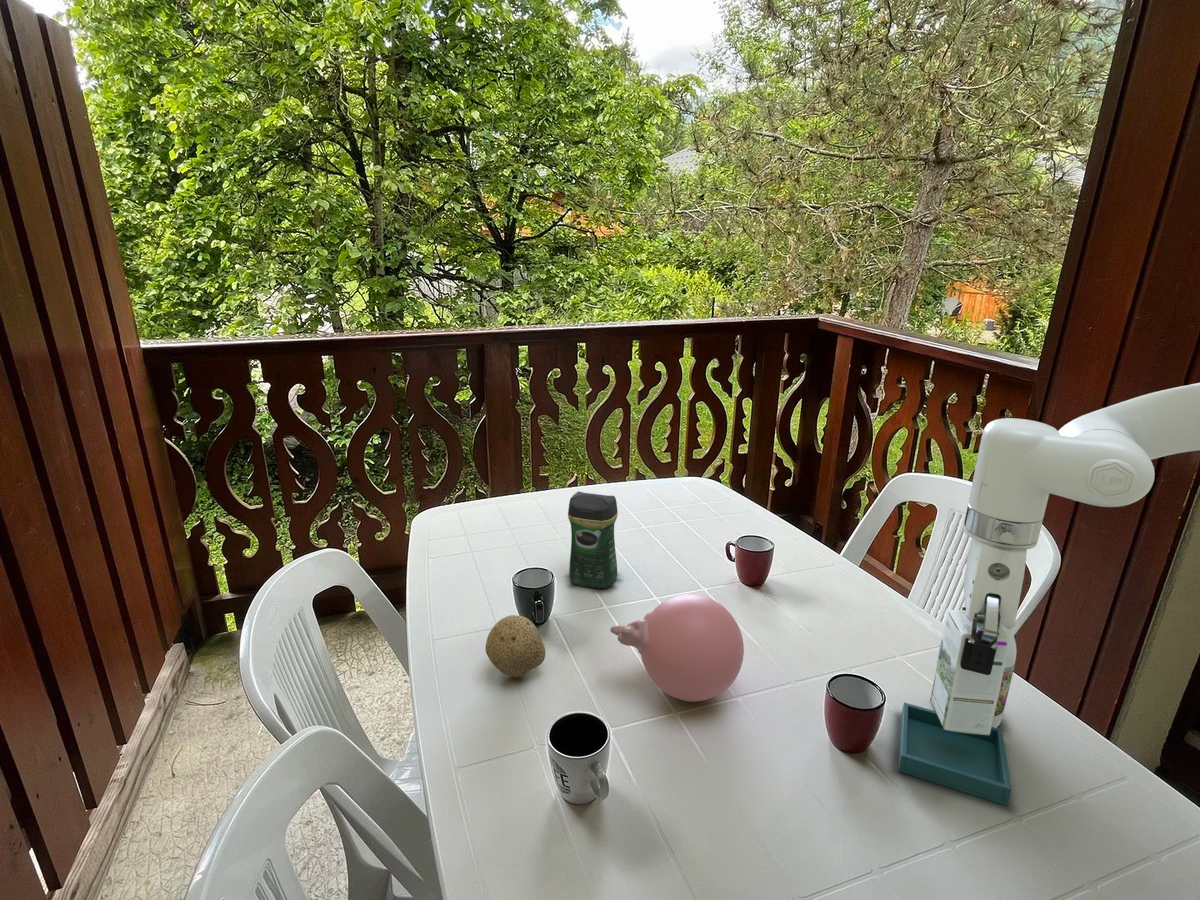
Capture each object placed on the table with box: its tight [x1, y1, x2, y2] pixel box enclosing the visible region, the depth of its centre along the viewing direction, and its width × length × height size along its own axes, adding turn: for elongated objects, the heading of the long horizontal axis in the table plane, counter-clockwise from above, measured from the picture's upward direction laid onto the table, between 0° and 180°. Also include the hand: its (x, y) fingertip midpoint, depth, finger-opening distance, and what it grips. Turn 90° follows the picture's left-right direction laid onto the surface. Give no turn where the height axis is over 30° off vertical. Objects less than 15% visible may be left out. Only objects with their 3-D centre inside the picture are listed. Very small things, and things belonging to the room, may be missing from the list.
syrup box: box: [929, 609, 1011, 735], centre depth 81 cm, size 6×6×14 cm
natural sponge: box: [485, 614, 546, 678], centre depth 100 cm, size 9×9×10 cm
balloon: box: [610, 593, 745, 703], centre depth 96 cm, size 15×20×15 cm
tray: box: [898, 702, 1012, 807], centre depth 85 cm, size 12×11×3 cm
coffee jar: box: [567, 491, 619, 589], centre depth 127 cm, size 10×8×19 cm
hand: (973, 652), depth 80 cm, fingers closed on syrup box, 6 cm apart
